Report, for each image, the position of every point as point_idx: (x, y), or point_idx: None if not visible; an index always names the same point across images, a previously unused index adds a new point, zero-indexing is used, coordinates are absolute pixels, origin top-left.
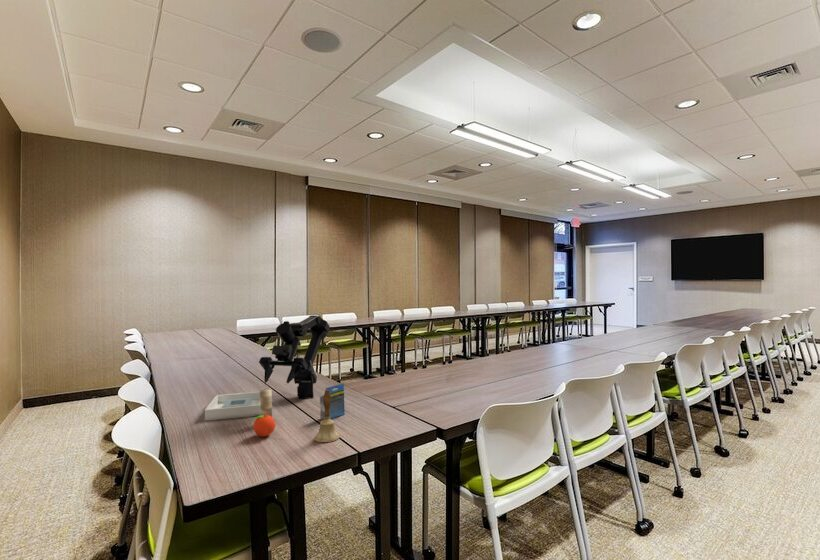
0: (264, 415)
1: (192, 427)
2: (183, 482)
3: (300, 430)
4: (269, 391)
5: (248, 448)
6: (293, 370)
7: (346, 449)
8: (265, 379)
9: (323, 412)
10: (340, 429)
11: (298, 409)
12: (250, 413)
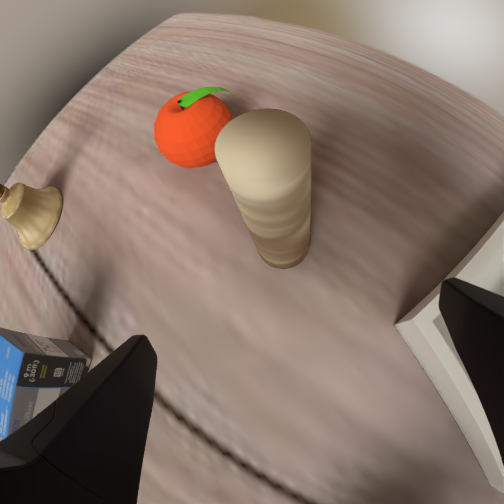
0: (178, 101)
1: (488, 141)
2: (226, 15)
3: (110, 231)
4: (220, 141)
5: None
6: (18, 433)
7: None
8: (458, 286)
9: (57, 344)
10: (23, 279)
11: (252, 460)
12: (434, 290)
